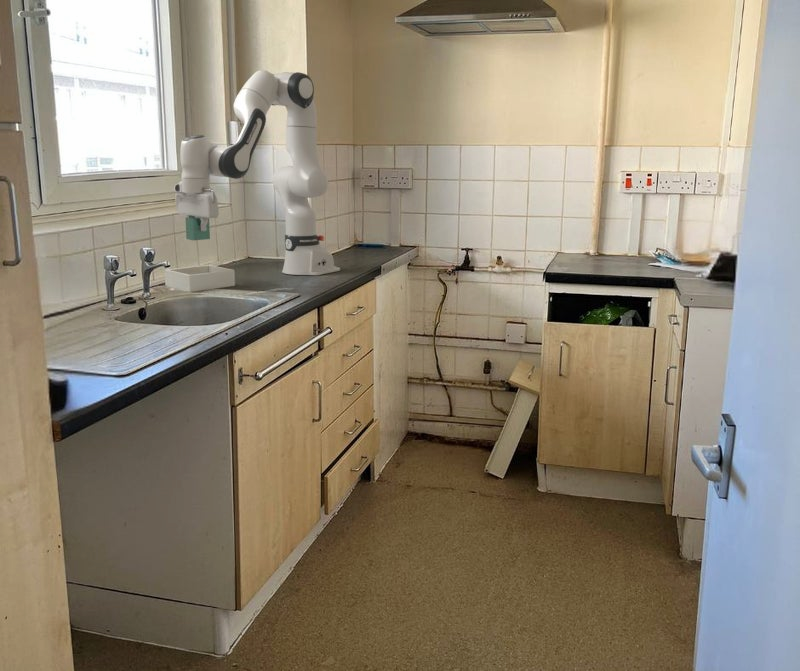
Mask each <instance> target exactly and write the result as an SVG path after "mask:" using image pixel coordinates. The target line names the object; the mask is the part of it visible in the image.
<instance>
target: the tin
mask: <svg viewBox="0 0 800 671" xmlns="http://www.w3.org/2000/svg"><path fill="white" fill-rule="evenodd" d="M199 225H201V220H200V217H197V216H195V217H187V216H186V217H185V235H186V236H185V237H186V240H190V241H202V240H203V241H204V240H210V239H211V234H210V233H211V231H210V229H211V228H210V218H208V223H207V225H206V229H207V230H206V231H200V230H199Z"/></svg>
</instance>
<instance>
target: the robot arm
mask: <svg viewBox="0 0 800 671" xmlns="http://www.w3.org/2000/svg"><path fill="white" fill-rule="evenodd" d="M314 94H315V87H314V83H313V80H312V79H311V76H309V75H308V74H306V73H303V72H299V71H297V72H288V71H287V72H286V71H285V72H279V73H275V74H274V73H272V72H269V71H267V70H264V69H260V70H257V71H255V72H254V73H253V74H252V75H251V76H250V77H249V78H248V79H247V81H246V82H245V83H244V84H243V86H242V87H241V89H240V90H239V92H238V93H237V96H236V97H235V99H234V102H233V111H234V113H235V116H236V118H238V120H239V121H241V123H243V127H242V129H241V132H240V133H239V136H238V137H237V140H236V142H235V143H234V144H232V145H229V146H222V145H221V146H219V145H217V144H215V143H213V142H212V141H210V140H209V139H208V138H207V137H206V136H205V135H201V134H198V135H197V134H196V135H188V136H186V137H184V138H183V139H182V140H181V143H180V152H179V153H180V156H179V157H180V159H179V160H180V165H181V170H182V172H181V176H180V177H181V181H180V182H178V183H176V184H174V186H173V191H174V192H175V195H174V200H175V211H176V213H177V214H178V215H182V216H183V215H184V216H186V218H187V217H200V220H201V225H199V230H200V231H206V230H207V229H206V225H207V223H208V218H209V219H216V218H218V217H219V213H220V212H219V205H218V203H219V202H218V198H217V195H216V194H215V191H214V190H213V189H212V188H211V178H210V176H212V177H213V176H215V177H224V178H228V179H229V178H230V179H236V180H238V179H241V178H243V177H244V176H246V174H247V173H248V171H249V168H250V166H251V162H252V157H253V154H254V152H255V149H256V147H257V145H258V142H259V140H260V138H261V136H262V134H263V131H264V128H265V126H266V122H267V117H266V115H267V113H268V111H269V110H270V108H271V106H282V107H285V110H286V112H287V114H286V127H285V129H286V130H285V132H286V134H285V148H286V151H287V152H288V153H289V155H290V158H291V160H292V164H293V165H287V166H283V167H280V168H278V169H277V170H275V172H274V174H273V177H272V184H273V185H272V186H273V187H274V189H275V190H276V191H277V193H278V195H279V197H280V200H281V203H282V205H283V209H284V210H283V211H284V218H285V235H284V246H285V254H284V255H285V256H284V263H283V267H282V271H281V273H282V274H286V275H292V276H293V275H294V276H295V275H297V276H321V275H325V274H331V273H334V272H339V271H341V268H340V267H338V266H335V261H334V257H333V255H332V253H331V252H330V251H328V250H327V249H326V248H325V247H323V246H322V244H320V241H321V242H324V241H325V240H326V239H325V236H324V235H317V234H316V233H317V232H316V231H317V230H316V229H317V228H316V213H315V211H314V210H313V208H312V207H311V205H310V202H309V199H312V198H317V197H321V196H323V195H324V194H325V193H326V192H327V190H328V187H329V178H328V174H326V173H325V171H324V170H323V168H322V166H321V164H320V159H319V156H318V146H317V144H318V143H317V142H318V139H317V138H318V115H317V114H318V113H317V107H316V106H317V105H316V102H315V100H314ZM308 198H309V199H308Z"/></svg>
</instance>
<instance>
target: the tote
mask: <svg viewBox="0 0 800 671" xmlns="http://www.w3.org/2000/svg"><path fill="white" fill-rule="evenodd" d="M164 280H165V282H164V283H165V287H170V288H173V289H176V290H177V289H178V290H181V291H185V292H189V293H192V292H198V291H207V290H214V289H221V288H228V287H235V286H236V277H235V270H234V269H232V268H226V267H222V266H217V265H212V264H206V265H205V264H204V265H196V266H188V267H187V266H186V267H178V268H170V269H164Z"/></svg>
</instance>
